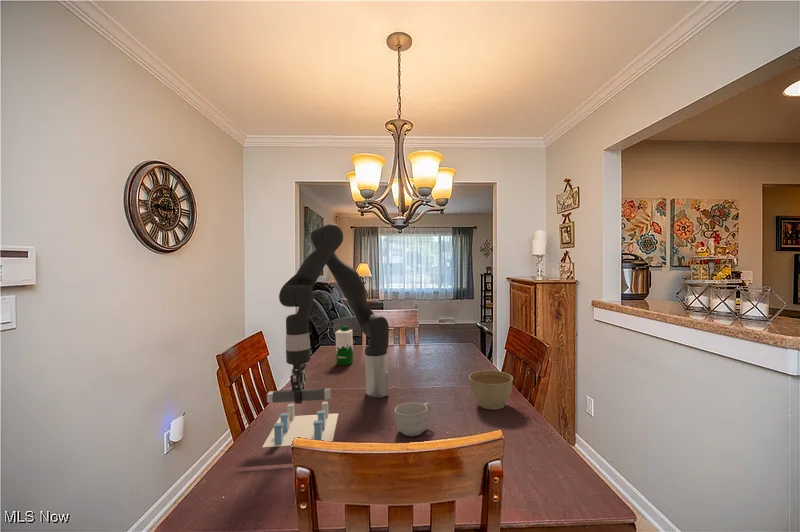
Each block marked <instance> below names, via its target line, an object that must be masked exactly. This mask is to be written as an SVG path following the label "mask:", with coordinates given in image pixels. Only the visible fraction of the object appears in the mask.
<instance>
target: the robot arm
mask: <svg viewBox="0 0 800 532" xmlns="http://www.w3.org/2000/svg"><path fill="white" fill-rule="evenodd" d="M310 240H311V242H312V245H313V247H314V249H315V250H313V251H312V252H311V253H310V255H309V254H308V256H307V257H306V259H305V260H304V261H303V262H302V264H301V265H300V267H299V268H298V269H297V272H296V273H295V274H294V275H293V276H292V277H290V279H288V280H287V281H286V282H285V283H284V284H283V286H282V287H281V289H280V290H279V293H278V298H279V303H280V304H281V305H282V306H283V307H286V308H298V309H297V311H296V313H293V314H290V315H287V316H286V318H285V332H286V334H285V336H286V337H285V359H286V363H287V364H288V365H292V369H291V370H290V371H291V373H290V374H291V375H290V377H289V378H290V383H291V384H290V385H291V390H292V392H294V396H295V402H294V404H297V405H298V404H302V403H303V401H302V389H305V386H306V381H307V367H308V365H307V363H309V362H310V361H311V359H312V358H311V357H312V356H311V338H310V324H309V323H310V314H311V309H312V306H313V302H314V290H313V289H312V288H313V287H314V286H315V284H316V283H317V281H318V279H319V277H320V275H321V273H322V271H323V270H324V268H325V266H327V268H328V270H329V271H330V273H331V275H332V276H333V278H334V280H335V281H336V284H337V285H338V287H339V289H340V291H341V294H343V296H344V298H345V299H346V301H347V303H348V304H349V305H348V306H350V308H351V310H352V312H353V314H354V315H355V318H356V321H357V322H358V325H359V327H360V330H361V332H362V333H363V334H364V335H365V336H367V337H369V344H368V345H366V346H365V348H364V359H365V360H364V362H365V364H364V366H365V393H366V395H367V396H368V397H374V398H377V399H382V398H385V397H388V396H389V395H390V394H389V372H388V371H389V370H388V349H389V341H390V340H389V339H390V336H389V335H390V328H389V322H388V319H387V318H386V317H384V316H382V315H377V314H375V313H374V312H373V310H372V308H371V307H370V305H369V304H368V301H367V294H366V293H367V292H366V286H365V284H364V282H363V280H362V278H361V276H360V274H359V272H358V271H357V270H355V268H354V267H352V266H351V265H350V264H348V263H347V262H345V261H344V260H341V258H340V257H339V256H338V255H337V254H336V251H337V250H338V249H339V247H340V246H341V245H342V243H343V241H344V232H343V229H342V228H341V227H340V226H339V225H338V224H336V223H329V224H326V225H323V226H320V227H317V228H316V229H314V230H313V231H312V232H311V234H310Z"/></svg>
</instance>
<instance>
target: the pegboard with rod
mask: <svg viewBox="0 0 800 532" xmlns="http://www.w3.org/2000/svg"><path fill="white" fill-rule="evenodd" d="M286 410H287V411H286V412H282V413H281V412H280V414H279V418H278V420H276V422H275V423H274V425H273V428H272V429H271V431H270V433H269V434H268V437H267V438H266V440H265V441H264V443H263V445H262V446H261V448H263V449H264V448H274V447H275V448H276V447H289V446H292V445H291V444H292V441H293V440H294V438H296V437H301V438H307V439H315V440H324V441H334V438H335V437H334V436H335V432H336V426H337V422H338V419H339V413H329V401H327V400H326V401H322V402H321V410H317V412H316V414H308V415H307V414H306V415H295V414H296V413H295V403H288V404H287V406H286Z"/></svg>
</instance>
